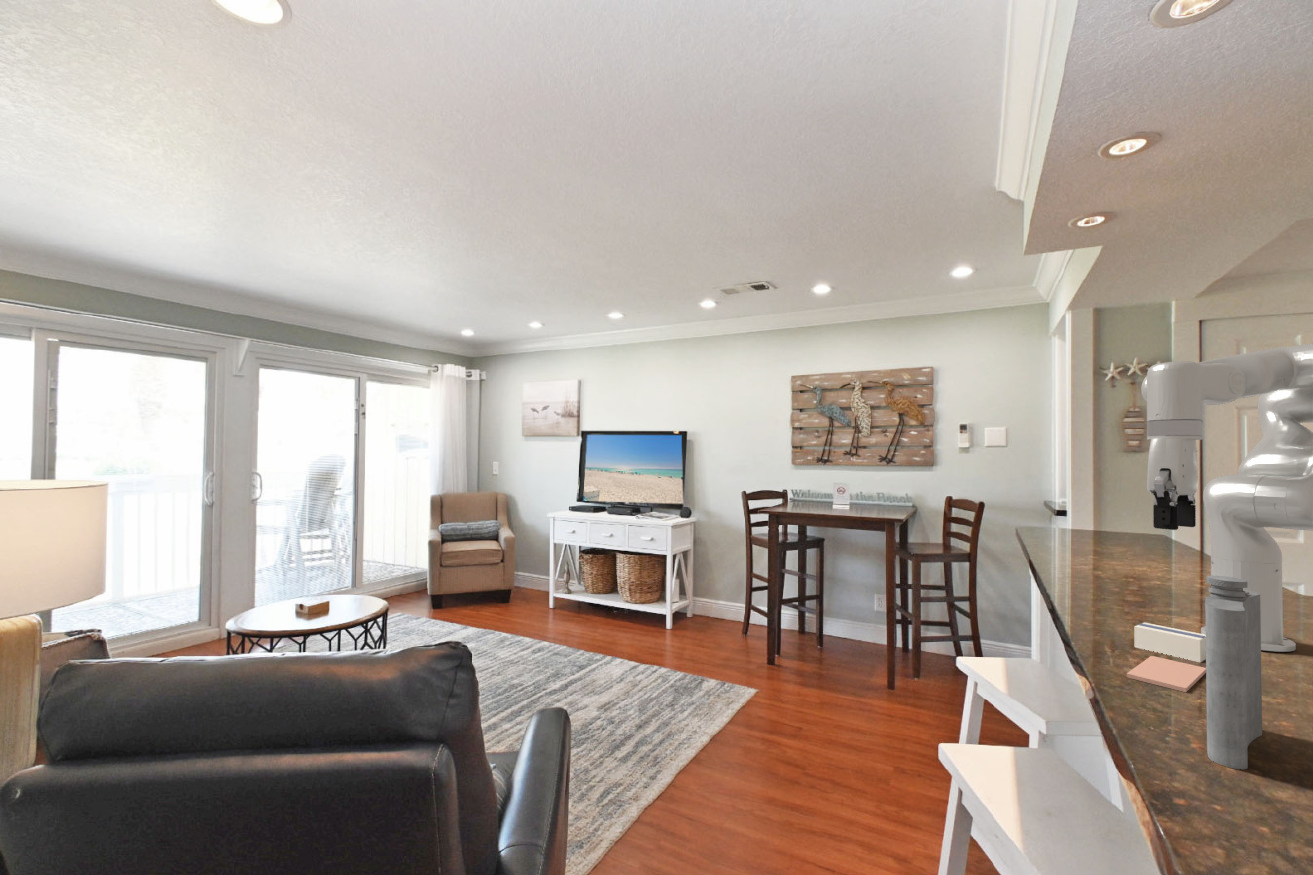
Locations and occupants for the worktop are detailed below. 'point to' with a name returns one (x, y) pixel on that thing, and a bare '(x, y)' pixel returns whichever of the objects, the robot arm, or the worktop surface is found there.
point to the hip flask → (1232, 670)
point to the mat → (1167, 673)
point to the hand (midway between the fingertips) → (1174, 527)
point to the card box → (1170, 641)
